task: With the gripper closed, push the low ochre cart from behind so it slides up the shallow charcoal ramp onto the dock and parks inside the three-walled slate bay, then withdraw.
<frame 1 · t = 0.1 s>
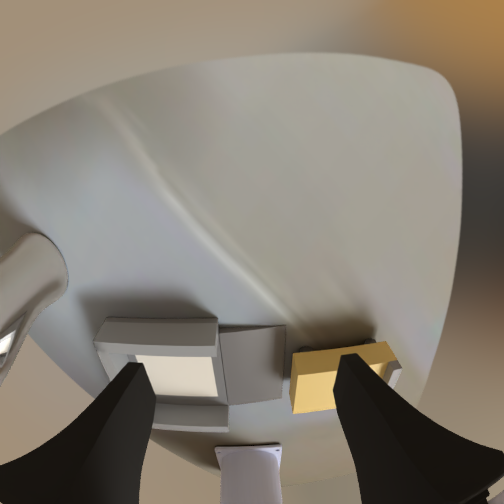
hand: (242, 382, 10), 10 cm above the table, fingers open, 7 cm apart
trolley: (334, 361, 23), on the table
beer glass: (41, 266, 19), on the table
dock: (189, 369, 23), on the table
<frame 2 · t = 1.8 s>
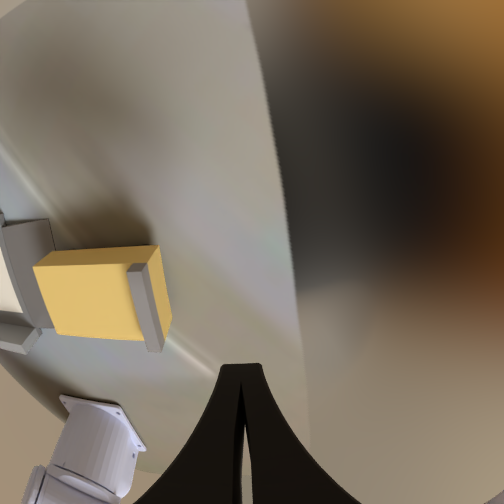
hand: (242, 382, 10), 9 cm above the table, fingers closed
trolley: (113, 277, 18), on the table
dock: (0, 278, 17), on the table
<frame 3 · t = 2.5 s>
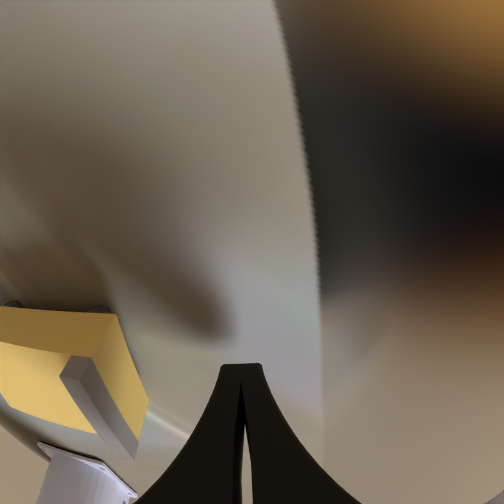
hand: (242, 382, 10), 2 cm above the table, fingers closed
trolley: (67, 341, 11), on the table
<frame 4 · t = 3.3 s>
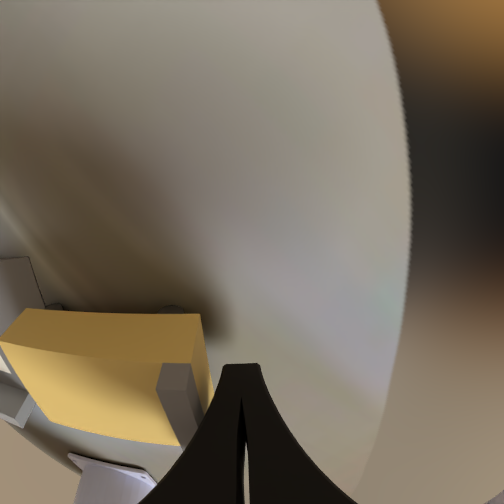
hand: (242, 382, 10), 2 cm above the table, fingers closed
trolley: (122, 346, 11), on the table, touching gripper
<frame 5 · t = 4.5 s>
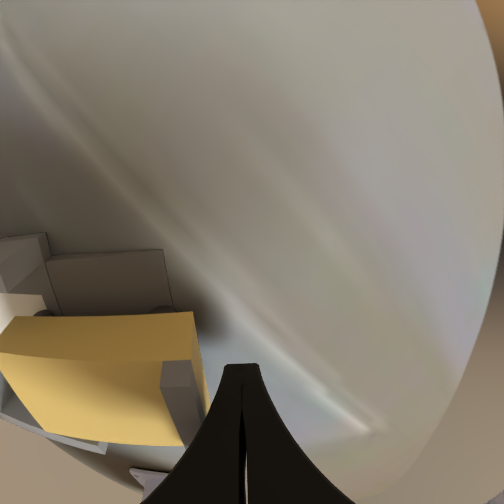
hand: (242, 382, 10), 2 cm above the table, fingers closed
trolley: (113, 350, 11), resting on dock, tilted 6°, touching gripper
dock: (39, 338, 11), on the table
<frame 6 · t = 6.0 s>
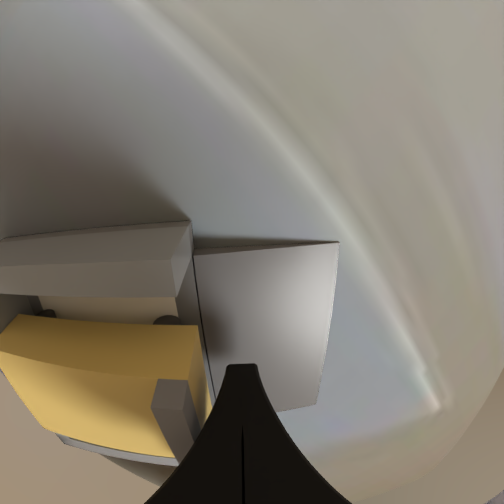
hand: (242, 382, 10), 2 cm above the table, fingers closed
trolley: (117, 354, 11), point 1 cm above the table, touching dock, gripper
dock: (141, 348, 11), on the table
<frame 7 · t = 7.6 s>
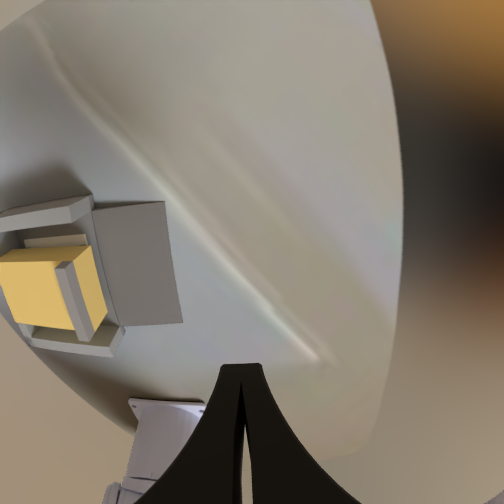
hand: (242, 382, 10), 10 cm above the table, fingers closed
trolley: (61, 273, 18), point 1 cm above the table, touching dock
dock: (74, 270, 18), on the table
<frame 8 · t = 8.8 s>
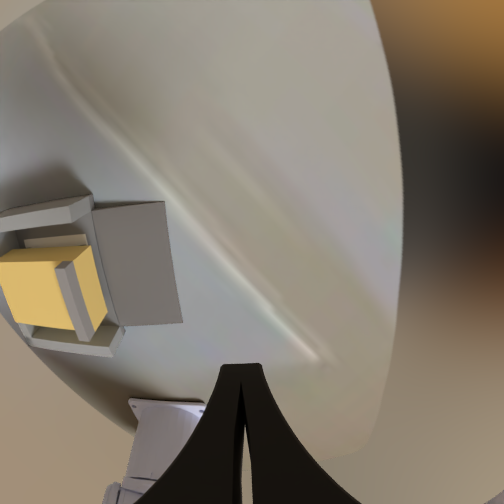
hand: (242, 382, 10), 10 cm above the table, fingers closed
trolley: (61, 273, 18), point 1 cm above the table, touching dock
dock: (74, 270, 18), on the table
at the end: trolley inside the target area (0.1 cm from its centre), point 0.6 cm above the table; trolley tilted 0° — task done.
